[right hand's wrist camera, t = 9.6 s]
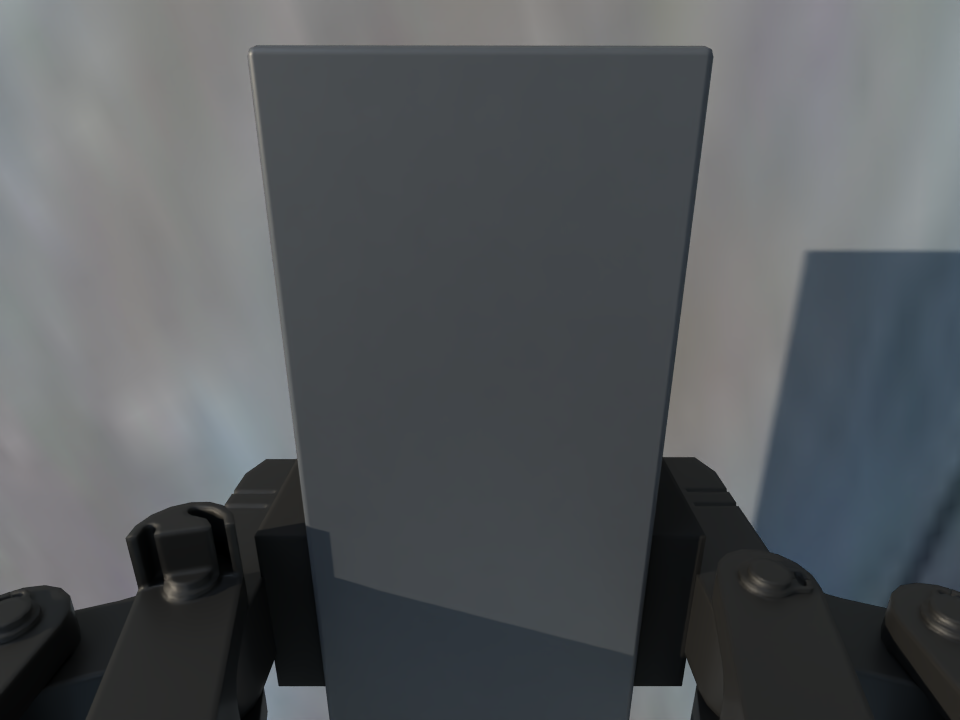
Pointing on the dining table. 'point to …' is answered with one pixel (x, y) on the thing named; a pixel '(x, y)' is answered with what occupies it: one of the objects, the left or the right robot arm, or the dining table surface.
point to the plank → (479, 358)
